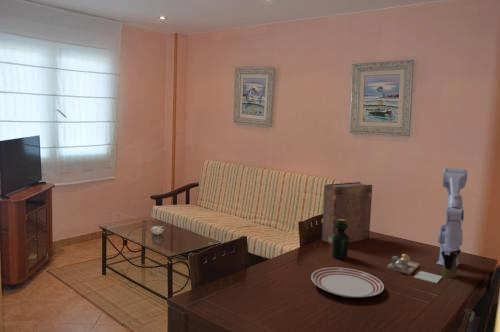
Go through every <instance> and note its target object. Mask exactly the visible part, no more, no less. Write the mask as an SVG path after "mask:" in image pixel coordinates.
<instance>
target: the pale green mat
mask: <svg viewBox="0 0 500 332" xmlns="http://www.w3.org/2000/svg"><path fill="white" fill-rule="evenodd" d="M443 277H444V276H443V275H438V274H436V273H435V274H434V273H431V272H426V271H422V270H420V271H418V273H416V274H415V275H414V276H413V278H414V279H418V280H421V281H426V282H430V283H433V284H438V283H439V282H440V281H441V280H442V278H443Z"/></svg>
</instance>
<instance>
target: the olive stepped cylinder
mask: <svg viewBox="0 0 500 332" xmlns="http://www.w3.org/2000/svg"><path fill="white" fill-rule="evenodd" d="M452 254H455V255H457V256H456V257H455V259H454V261H453V265H452V268H451V270H449V269H445V263H444V265H443V266H442V270H441V276H443V277H446V278H449V279H451V278H452V279H456V278H457V277H458V270H457V267H456V258H457V257H458V258H459V255H458V253H457V251H453V252H452Z"/></svg>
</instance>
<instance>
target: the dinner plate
mask: <svg viewBox="0 0 500 332" xmlns="http://www.w3.org/2000/svg"><path fill="white" fill-rule="evenodd" d="M310 278H311V281H312V283H313V284H314V285H315V286H317V288H319V289H321V290H323V291H326V292H328V293H330V294H333V295H335V296H338V297H342V298H352V299H354V298H355V299H356V298H358V299H359V298H367V297H374V296H377V295H379V294H381V293H383V291H384V290H385V285H384V283H383V282H382V281H381V280H380V279H379V278H378V277H376V276H374V275H372V274H370V273H368V272H365V271H362V270H357V269H354V268H353V269H352V268H348V267H323V268H320V269H316V270H315V271H313V272H312V273H311V276H310Z"/></svg>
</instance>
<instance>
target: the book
mask: <svg viewBox="0 0 500 332" xmlns="http://www.w3.org/2000/svg"><path fill="white" fill-rule="evenodd" d="M323 189H324V190H323V206H322V207H323V208H322V225H321V226H322V227H321V230H322V231H321V241H322V242H325V243H327V244H330V245H332V236H333V234H335V233H337V232H338V230H337V228H336V227H335V225H336V224H337V223H338V219H345V220H346V222H345V224H347V226H348V228H346V229H345V232H344V233H345V234H347V235H348V236H349V238H350V239H349V244H350V243H353V242H354V243H355V242H362V241H366V240H367V241H369V240H370V230H371V229H370V227H371V212H372V200H373V199H372V198H373V197H372V196H373V184H364V183H361V181H356V182H342V183H341V182H340V183H331V184H330V183H329V184H324V188H323Z"/></svg>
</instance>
